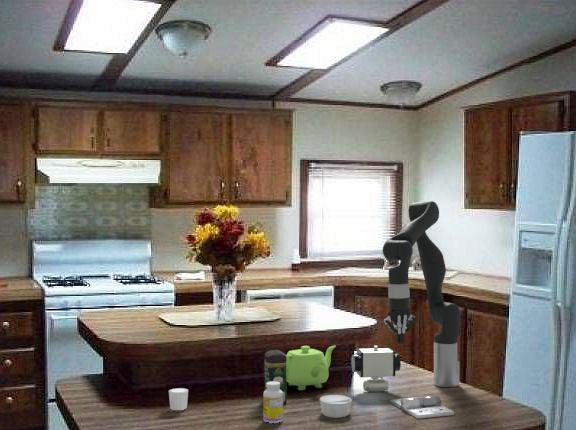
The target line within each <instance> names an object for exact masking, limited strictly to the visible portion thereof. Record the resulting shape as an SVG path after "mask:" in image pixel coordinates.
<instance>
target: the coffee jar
mask: <svg viewBox="0 0 576 430" xmlns="http://www.w3.org/2000/svg"><path fill="white" fill-rule="evenodd" d="M286 355H287V354H286V353H285V352H284V351H281V350H280V349H271V350H270V349H269V350H268V351H266V352H265V353H264V391H265V390H267V387H266V383H267V382H271V381H276V382H280V390H281V391H282V392H283V404H284V403H287V400H288V392H287V391H288V390H287V383H288V382H287V374H286V368H287V358H286V357H287V356H286Z"/></svg>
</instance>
